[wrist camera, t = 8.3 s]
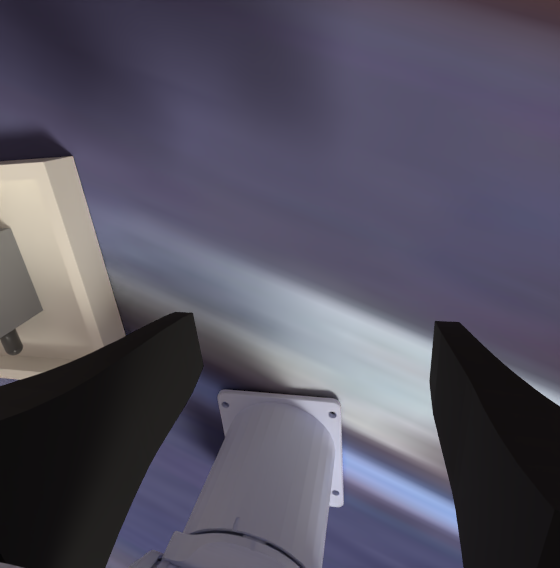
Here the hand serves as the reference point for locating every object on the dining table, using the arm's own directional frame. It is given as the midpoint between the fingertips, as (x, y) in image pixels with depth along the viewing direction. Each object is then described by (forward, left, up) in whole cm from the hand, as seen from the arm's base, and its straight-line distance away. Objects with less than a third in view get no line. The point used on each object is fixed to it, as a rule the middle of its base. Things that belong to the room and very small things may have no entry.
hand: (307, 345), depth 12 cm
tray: (-2, +21, -9) cm, 23 cm away
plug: (-2, +21, -9) cm, 23 cm away
